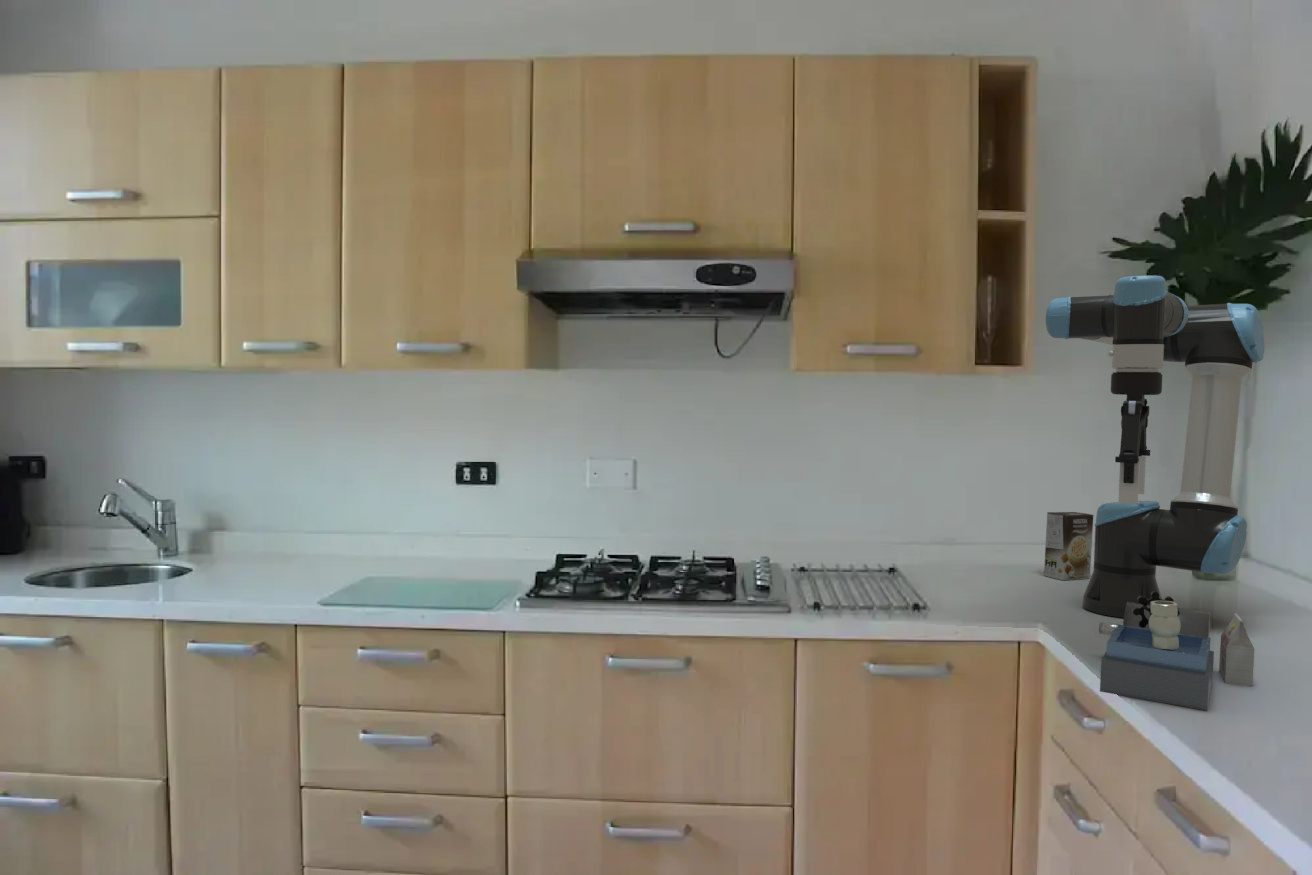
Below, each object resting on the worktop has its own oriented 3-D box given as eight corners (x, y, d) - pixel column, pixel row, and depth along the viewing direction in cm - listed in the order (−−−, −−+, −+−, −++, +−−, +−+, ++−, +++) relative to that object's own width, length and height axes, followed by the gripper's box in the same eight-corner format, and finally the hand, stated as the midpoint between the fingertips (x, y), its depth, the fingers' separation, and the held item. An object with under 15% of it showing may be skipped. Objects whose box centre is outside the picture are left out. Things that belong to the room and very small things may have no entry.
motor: (1102, 649, 163) (1105, 593, 163) (1214, 667, 154) (1218, 608, 153) (1078, 687, 141) (1081, 623, 141) (1207, 710, 132) (1210, 641, 132)
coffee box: (1063, 581, 224) (1066, 515, 224) (1043, 576, 230) (1045, 512, 230) (1091, 578, 228) (1094, 514, 227) (1070, 573, 234) (1073, 511, 233)
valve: (1193, 651, 135) (1179, 632, 146) (1191, 606, 135) (1178, 591, 146) (1142, 648, 137) (1133, 631, 148) (1140, 604, 137) (1131, 590, 148)
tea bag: (1245, 674, 150) (1248, 614, 150) (1252, 686, 144) (1255, 623, 144) (1219, 671, 152) (1222, 611, 151) (1224, 682, 146) (1228, 620, 145)
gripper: (1118, 370, 165) (1114, 488, 166) (1103, 370, 144) (1098, 505, 145) (1166, 370, 161) (1161, 491, 163) (1157, 370, 140) (1152, 509, 141)
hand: (1131, 498), depth 154 cm, fingers open, 13 cm apart
